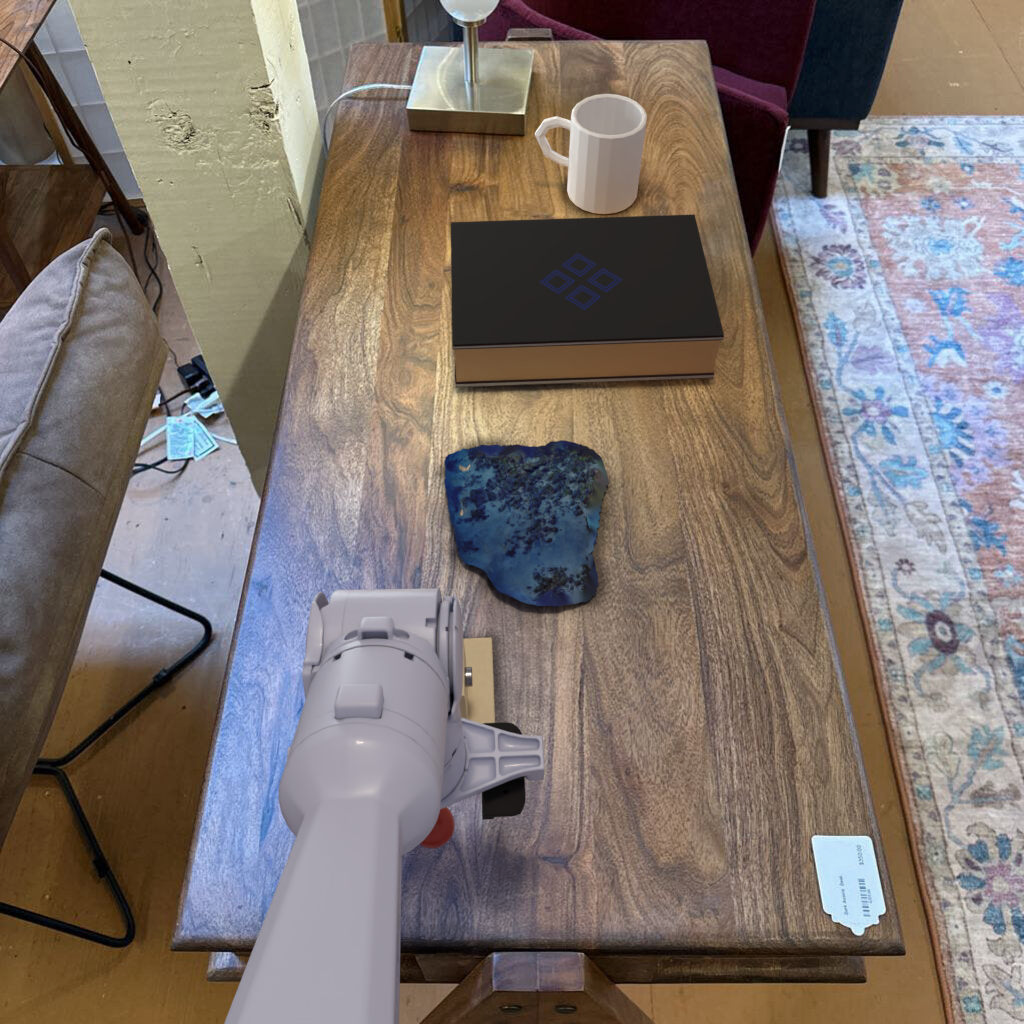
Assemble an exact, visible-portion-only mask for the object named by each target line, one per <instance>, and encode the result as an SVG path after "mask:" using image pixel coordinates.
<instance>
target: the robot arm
mask: <svg viewBox="0 0 1024 1024" xmlns="http://www.w3.org/2000/svg"><path fill="white" fill-rule="evenodd" d="M463 639H464V631H463V614H462V609H461V604H460V601H459V599H458V595H457V594H456V593H453V594H452V595H444V596H443V597H442V591H441V588H439V587H438V588H435V587H433V588H378V589H377V588H375V589H373V588H371V589H370V588H369V589H367V588H366V589H335V590H334V591H333V592H332V593H331V595H330V598H329V600H328V598H327V596H326V594H325V593H324V592H322V591H319V592H316V594H315V596H314V597H313V601H312V602H311V605H310V609H309V616H308V622H307V629H306V637H305V652H304V653H305V654H304V659H303V662H302V667H303V668H302V672H301V676H302V677H301V678H302V684H303V691H304V692H303V694H304V703H303V707H302V709H301V713H300V716H299V719H298V722H297V726H296V729H295V732H294V735H293V738H292V742H291V745H290V746H288V747H287V752H286V762H285V765H284V769H283V771H282V774H281V777H280V780H279V785H278V805H279V809H280V812H281V815H282V818H283V820H284V822H285V824H286V826H287V828H288V829H289V831H290V832H291V834H293V836H294V837H295V839H294V842H293V845H292V847H291V849H290V852H289V855H288V857H287V860H286V863H285V865H284V868H283V870H282V872H281V876H280V878H279V881H278V883H277V886H276V889H275V892H274V894H273V896H272V898H271V901H270V904H269V906H268V909H267V912H266V914H265V917H264V920H263V922H262V924H261V926H260V931H259V933H258V934H257V937H256V940H255V943H254V945H253V948H252V951H251V953H250V955H249V958H248V961H247V962H246V966H245V969H244V970H243V974H242V976H241V979H240V981H239V984H238V986H237V989H236V992H235V995H234V997H233V1000H232V1002H231V1004H230V1007H229V1010H228V1012H227V1015H226V1017H225V1020H224V1023H223V1024H400V997H401V996H400V994H401V993H400V992H401V991H400V989H401V987H400V986H401V932H402V930H401V929H402V877H403V876H402V875H403V874H402V872H403V871H402V869H403V856H404V855H406V854H408V853H409V852H411V851H413V850H414V849H415V848H416V847H418V846H419V845H420V843H421V842H422V841H423V840H424V839H425V838H426V837H427V836H428V835H429V833H430V832H431V831H432V829H433V827H434V826H435V824H436V821H437V819H438V816H439V812H440V809H443V808H445V807H447V808H448V807H449V806H452V805H455V804H458V803H460V802H462V801H464V800H466V799H470V798H472V797H473V796H476V795H479V794H481V819H482V821H486V820H494V819H495V818H507V817H515V816H516V817H517V816H519V815H521V814H522V812H523V810H524V808H525V805H526V800H527V799H526V797H527V795H526V780H527V781H530V782H533V781H544V780H545V770H546V769H545V768H546V767H545V751H544V736H543V735H529V734H522V731H521V729H520V728H519V727H518V726H517V725H516V724H514V723H512V722H508V721H507V722H506V721H503V722H501V721H499V722H495V723H483V724H481V723H478V722H474V721H471V720H468V719H465V718H461V711H460V700H461V696H462V688H463Z"/></svg>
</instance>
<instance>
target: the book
mask: <svg viewBox="0 0 1024 1024" xmlns="http://www.w3.org/2000/svg"><path fill="white" fill-rule="evenodd" d="M700 235H701V234H700V231H699V225H698V222H697V218H696V215H695V214H668V215H667V214H666V215H665V214H664V215H636V216H635V215H633V216H603V217H602V216H601V217H573V218H570V217H569V218H543V219H542V218H541V219H537V218H536V219H511V220H507V219H506V220H479V221H451V222H450V262H451V263H450V265H451V266H450V269H451V272H450V273H451V274H450V275H451V277H450V278H451V283H450V284H451V342H452V343H451V348H452V350H453V351H454V384H455V389H457V388H460V389H461V388H484V387H487V388H489V387H513V386H514V387H516V386H539V385H540V386H541V385H542V386H544V385H569V384H596V383H597V384H598V383H624V382H627V383H628V382H654V381H655V382H656V381H681V380H706V379H707V380H708V379H710V380H711V379H714V376H715V372H714V371H715V370H714V369H715V367H716V366H715V365H716V361H717V357H718V355H719V350H720V345H721V342H722V341H724V337H725V334H724V329H723V324H722V321H721V316H720V313H719V309H718V304H717V300H716V297H715V293H714V289H713V285H712V280H711V276H710V272H709V268H708V264H707V259H706V255H705V252H704V251H705V250H704V247H703V243H702V239H701V236H700Z"/></svg>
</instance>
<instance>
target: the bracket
mask: <svg viewBox="0 0 1024 1024" xmlns="http://www.w3.org/2000/svg"><path fill="white" fill-rule="evenodd" d="M493 651H494V650H493V638H492V637H470V638H463V688H462V696H461V700H460V711H461V718H465V719H468V720H471V721H474V722H478V723H481V724H483V723H496V707H495V680H494V679H495V678H494V677H495V676H494V654H493V653H494V652H493Z"/></svg>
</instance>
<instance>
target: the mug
mask: <svg viewBox="0 0 1024 1024" xmlns="http://www.w3.org/2000/svg"><path fill="white" fill-rule="evenodd" d="M647 118H648V115H647V112H646V109H645V108H644V107H643V106H642V105H641V104H640V103H639V102H637V101H636V100H634V99H633V98H630V97H628V96H624V95H621V94H616V93H615V94H614V93H601V94H595V95H591V96H587V97H586V98H583V99H582V100H580V101H578V102H577V103H576V104H575V106H574V107H573V108H572V109H571V114H570V119H567V118H564V117H560V116H558V115H555V116H552V117H548V118H544V119H543V120H542V122H541V124H539V126H538V128H537V129H536V131H535V132H534V138H535V139H536V141H537V143H538V146H539V147H540V150H541V152H542V153H543V156H544V157H545V158H547V159H548V160H551V161H552V162H554V163H556V164H557V165H559V166H562V167H567V187H566V192H567V195H568V198H569V200H570V201H571V202H572V203H573V204H574V205H575V206H576V207H577V208H579V209H581V210H583V211H585V212H589V213H591V214H598V215H609V214H616V213H619V212H623V211H625V210H626V209H628V208H629V207H630V206H632V205H633V204H634V202H635V200H637V196H638V189H639V183H640V175H641V167H642V166H641V165H642V159H643V152H644V144H645V136H646V127H647V121H648V120H647ZM556 128H562V129H566V130H568V131H569V148H568V157H567V156H564V155H562V154H560V153H559V152H557V151H555V150H554V149H553V148H552V147H551V145H550V142H549V141H548V138H547V137H546V135H547V133H548V132H549V130H552V129H556Z"/></svg>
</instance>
